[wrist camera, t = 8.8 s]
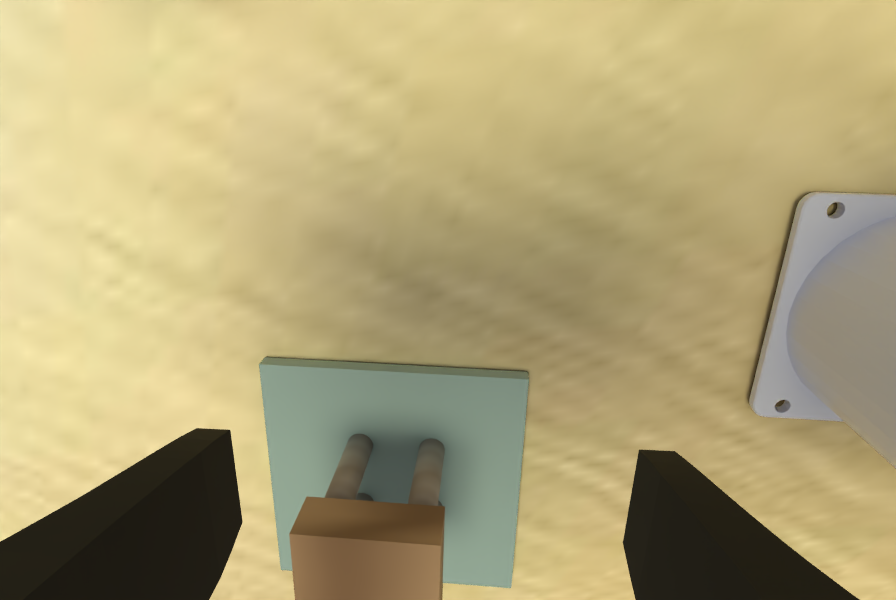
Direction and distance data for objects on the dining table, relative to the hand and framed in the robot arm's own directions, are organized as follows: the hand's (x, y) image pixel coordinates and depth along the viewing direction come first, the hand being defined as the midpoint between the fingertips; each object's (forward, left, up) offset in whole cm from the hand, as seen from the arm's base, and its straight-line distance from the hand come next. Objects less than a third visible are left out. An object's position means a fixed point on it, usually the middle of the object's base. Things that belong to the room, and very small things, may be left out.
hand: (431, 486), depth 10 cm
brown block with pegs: (+2, +8, -10) cm, 13 cm away
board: (+2, +8, -10) cm, 13 cm away
